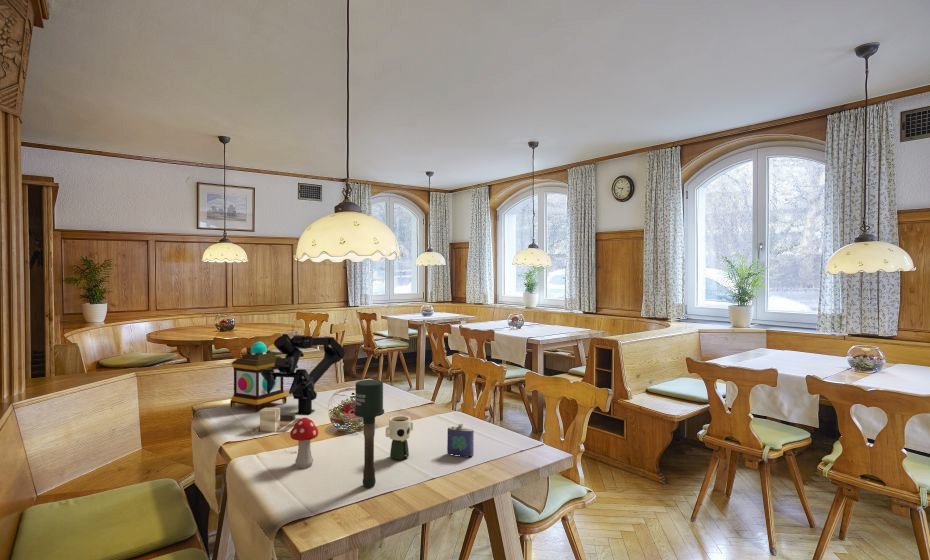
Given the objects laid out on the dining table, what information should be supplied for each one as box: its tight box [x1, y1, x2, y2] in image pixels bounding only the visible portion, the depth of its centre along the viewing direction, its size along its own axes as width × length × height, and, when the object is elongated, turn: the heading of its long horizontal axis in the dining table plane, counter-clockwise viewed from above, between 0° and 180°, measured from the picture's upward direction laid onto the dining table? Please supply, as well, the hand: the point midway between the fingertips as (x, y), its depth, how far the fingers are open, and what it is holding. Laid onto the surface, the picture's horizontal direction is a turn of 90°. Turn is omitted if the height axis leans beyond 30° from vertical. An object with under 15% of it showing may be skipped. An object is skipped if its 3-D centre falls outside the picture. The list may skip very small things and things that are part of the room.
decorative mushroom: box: [289, 417, 319, 469], centre depth 153 cm, size 10×9×15 cm
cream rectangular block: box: [259, 407, 281, 433], centre depth 184 cm, size 4×7×8 cm, turn 85°
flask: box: [446, 423, 475, 457], centre depth 162 cm, size 9×3×11 cm, turn 74°
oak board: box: [248, 413, 302, 434], centre depth 191 cm, size 18×14×3 cm
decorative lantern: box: [230, 341, 287, 413], centre depth 222 cm, size 20×20×30 cm
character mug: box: [385, 415, 414, 460], centre depth 160 cm, size 11×7×13 cm, turn 133°
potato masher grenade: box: [353, 379, 385, 489], centre depth 138 cm, size 8×9×30 cm
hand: (278, 393), depth 192 cm, fingers open, 9 cm apart
